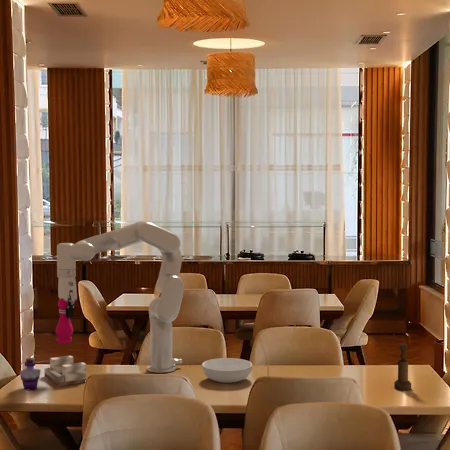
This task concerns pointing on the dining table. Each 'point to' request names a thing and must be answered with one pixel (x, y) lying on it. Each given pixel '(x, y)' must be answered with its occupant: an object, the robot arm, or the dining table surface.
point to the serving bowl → (227, 369)
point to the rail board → (65, 371)
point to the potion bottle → (30, 375)
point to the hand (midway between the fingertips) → (67, 316)
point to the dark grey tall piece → (402, 371)
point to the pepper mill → (63, 324)
